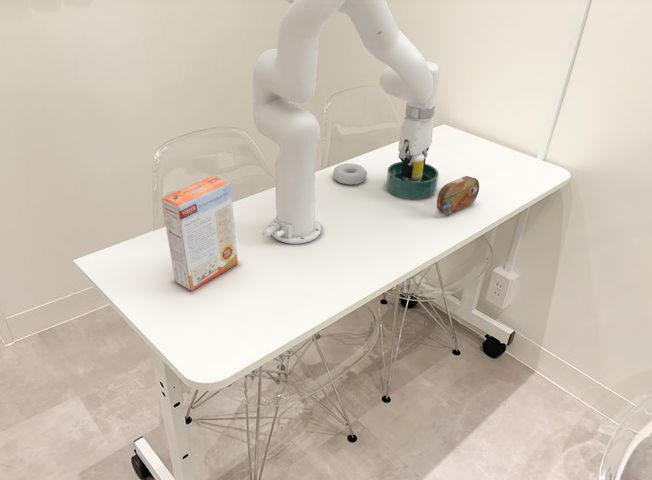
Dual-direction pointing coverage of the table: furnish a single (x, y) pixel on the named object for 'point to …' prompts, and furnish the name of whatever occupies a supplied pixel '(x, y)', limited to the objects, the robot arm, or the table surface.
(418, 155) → the supplement bottle
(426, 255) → the table surface
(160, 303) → the table surface
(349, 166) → the donut
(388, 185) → the teal round bowl
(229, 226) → the cracker box
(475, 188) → the tin
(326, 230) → the table surface
